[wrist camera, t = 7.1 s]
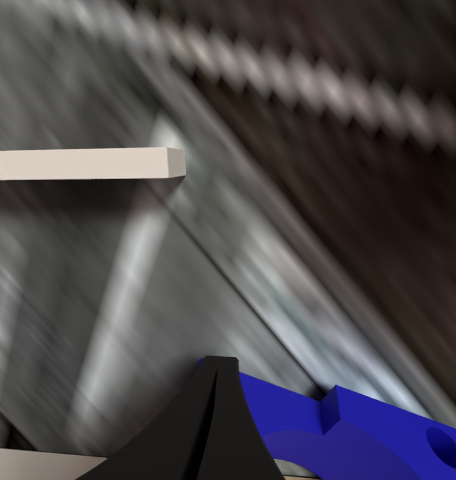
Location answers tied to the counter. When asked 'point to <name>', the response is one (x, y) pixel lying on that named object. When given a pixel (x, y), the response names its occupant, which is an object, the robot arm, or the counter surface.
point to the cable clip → (350, 435)
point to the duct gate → (299, 478)
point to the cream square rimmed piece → (77, 167)
